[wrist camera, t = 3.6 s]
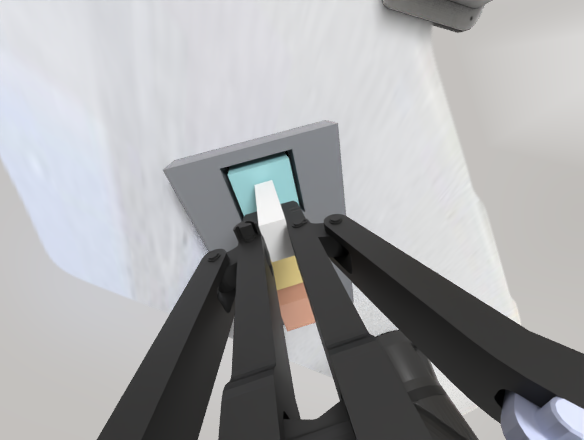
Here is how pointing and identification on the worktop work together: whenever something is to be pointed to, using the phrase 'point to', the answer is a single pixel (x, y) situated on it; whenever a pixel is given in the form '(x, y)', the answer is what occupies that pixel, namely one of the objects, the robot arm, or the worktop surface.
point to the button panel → (212, 165)
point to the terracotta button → (295, 307)
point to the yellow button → (286, 272)
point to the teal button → (262, 180)
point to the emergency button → (442, 11)
